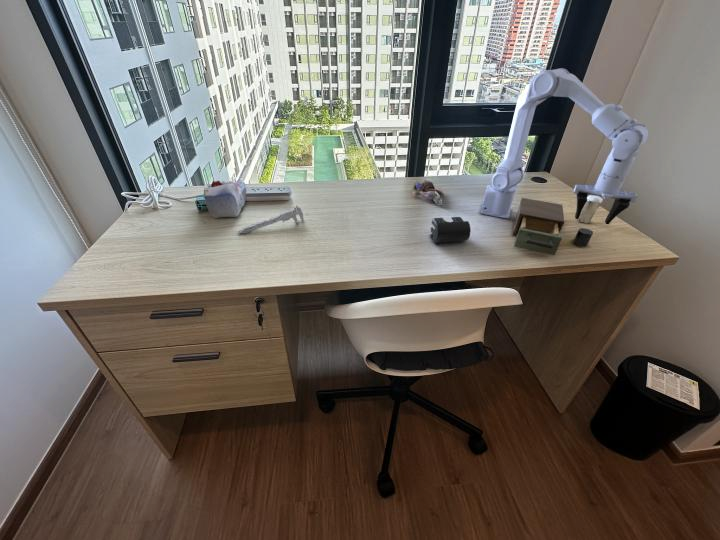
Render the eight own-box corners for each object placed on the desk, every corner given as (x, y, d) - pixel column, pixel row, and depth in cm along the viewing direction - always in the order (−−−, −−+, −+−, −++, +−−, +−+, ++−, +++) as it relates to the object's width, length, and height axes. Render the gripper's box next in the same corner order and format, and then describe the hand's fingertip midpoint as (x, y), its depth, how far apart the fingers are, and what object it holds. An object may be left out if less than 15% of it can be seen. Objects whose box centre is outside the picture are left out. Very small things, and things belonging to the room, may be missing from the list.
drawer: (555, 264, 90) (563, 246, 86) (512, 254, 93) (518, 237, 90) (553, 236, 102) (560, 219, 98) (516, 229, 105) (521, 212, 102)
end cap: (435, 248, 97) (438, 227, 93) (428, 235, 103) (431, 216, 99) (467, 246, 98) (472, 226, 94) (459, 234, 104) (463, 214, 100)
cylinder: (573, 245, 99) (579, 232, 97) (572, 239, 102) (578, 226, 100) (587, 248, 98) (594, 235, 96) (586, 242, 101) (592, 229, 98)
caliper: (302, 221, 110) (301, 203, 106) (303, 222, 109) (302, 205, 105) (239, 232, 103) (234, 214, 99) (239, 234, 102) (235, 216, 98)
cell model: (198, 191, 101) (204, 170, 117) (207, 223, 107) (211, 199, 123) (242, 187, 104) (242, 167, 120) (249, 218, 110) (248, 195, 126)
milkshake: (596, 225, 110) (610, 197, 104) (579, 223, 111) (591, 195, 105) (591, 218, 114) (604, 191, 108) (574, 217, 114) (587, 190, 108)
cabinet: (554, 244, 100) (564, 221, 95) (512, 235, 104) (519, 213, 99) (553, 225, 109) (562, 204, 105) (515, 218, 113) (521, 197, 109)
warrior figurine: (405, 189, 132) (425, 209, 118) (406, 177, 129) (427, 196, 115) (432, 186, 135) (454, 206, 121) (434, 174, 132) (457, 193, 118)
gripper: (583, 174, 87) (564, 221, 95) (649, 184, 82) (623, 231, 90) (581, 166, 92) (563, 211, 100) (643, 174, 87) (618, 220, 95)
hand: (591, 220), depth 95 cm, fingers open, 7 cm apart
